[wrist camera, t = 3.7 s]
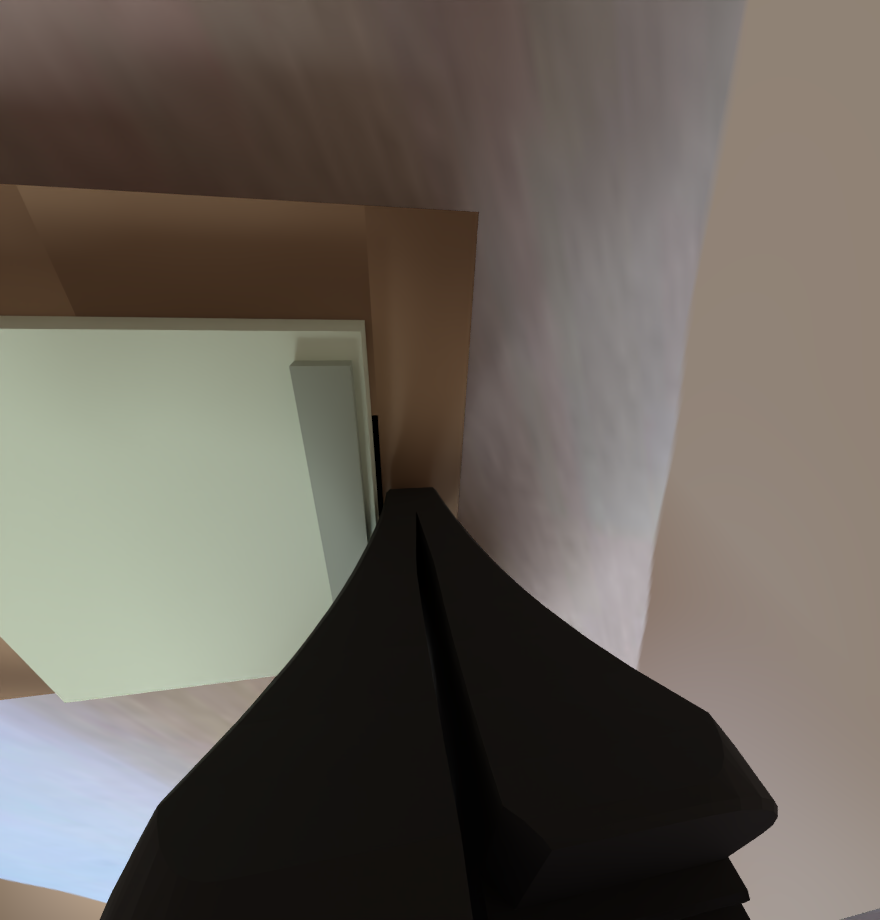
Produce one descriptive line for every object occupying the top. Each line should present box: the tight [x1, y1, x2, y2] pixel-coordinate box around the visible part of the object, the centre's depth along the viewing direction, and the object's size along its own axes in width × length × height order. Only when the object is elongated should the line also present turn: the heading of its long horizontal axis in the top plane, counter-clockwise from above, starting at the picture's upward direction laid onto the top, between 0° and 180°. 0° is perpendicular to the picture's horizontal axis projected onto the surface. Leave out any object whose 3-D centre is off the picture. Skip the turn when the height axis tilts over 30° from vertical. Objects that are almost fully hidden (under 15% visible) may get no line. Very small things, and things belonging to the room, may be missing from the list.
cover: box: [0, 316, 379, 703], centre depth 8 cm, size 10×9×2 cm
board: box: [0, 184, 479, 700], centre depth 10 cm, size 14×18×2 cm
